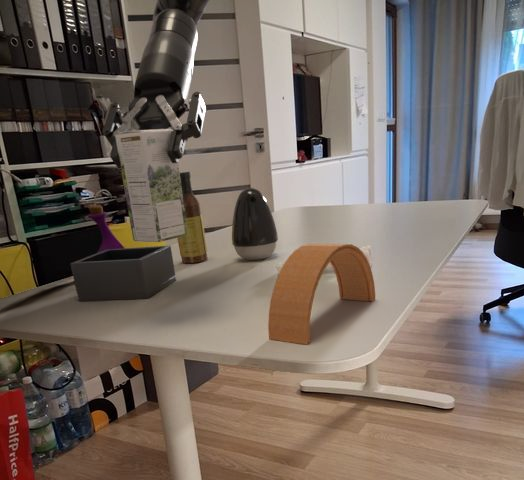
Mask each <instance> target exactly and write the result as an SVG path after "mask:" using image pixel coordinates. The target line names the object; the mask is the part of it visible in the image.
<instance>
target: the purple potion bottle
mask: <svg viewBox="0 0 524 480" xmlns="http://www.w3.org/2000/svg"><path fill="white" fill-rule="evenodd" d="M104 191H105V192H106V193H107V194H108V195H109V196H110V199H111V200H112V198H113V197H112V194H111V193H110V192H109V190H107V189H100V190H98V191H97V192H96V194H95V195H94V201H93V203H94V204H89V206H87V208H88V211H89V214H87V218H88V219H91V220H92V221H93V222H94V223H95V224H96V225H97V226H98V229H99V230H100V232H101V236H102V242H101V244H100V247H99V249H98V250H97V253H99V252H101V251H104V250H107V249H122V248H125V247H124V245H123V244H122V243H121V242H120V240H119V239H118V238H117V237H116V236H115V234H114V233H113V231H112V230H111V228H110V227H109V224H107V221H106V220H107V219H106V217H107V216H108V213H107V212H106V211H104V209H103V206H102V204H101V205H100V204H96V203H97V202H96V198H97V196H98V195H99V194H100V193H101V192H104Z"/></svg>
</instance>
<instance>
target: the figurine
mask: <svg viewBox="0 0 524 480" xmlns="http://www.w3.org/2000/svg"><path fill="white" fill-rule="evenodd" d="M350 245H354V246H355V243H352V244H350ZM358 248H359V249H360V250H361V251H362V252H363V253H364V255H365V256H366V258H367V260H368V262H369V265H370V268H371V267H373V255H372V254H373V253H372V249H371V248H372V247H371V245H365V246H361V247H358ZM286 261H287V260H285V261H283V262H278V263H277V264H276V266H275V268H276V271H277V272H278V273H280V271H281V269H282V267H283V265H284V263H285V262H286ZM371 269H372V268H371ZM327 270H334V268H333V266H332V265H331V263H330V262H329V264H328V265H327V267H326V268H325V270H324V271H327Z"/></svg>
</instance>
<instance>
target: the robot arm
mask: <svg viewBox="0 0 524 480" xmlns="http://www.w3.org/2000/svg"><path fill="white" fill-rule="evenodd" d="M210 1H211V0H156V3H155V6H154V10H153V14H152V15H153V16H152V26H151V28H150V32H149V37H148V40H147V43H146V45H145V46H144V48H143V49H144V50H143V52H142V56H141V60H140V63H139V66H138V71H137V75H136V77H135V81H134V85H133V86H134V87H133V99H132V101H131V102H130V103H129V104H128V106H120V105H119V103H118V102H113V103H111V104H110V106H109V110H108V114H107V116H106V119H105V123H104V126H103V129H102V134H103V136H104V138H105V139H106V141H108V143H109V145H110V146H111V150H110V154H109V157H110V159H111V160H112V162H113V164H114V165H115V166H116V168H118V169H121V166H120V161H119V155H118V149H117V143H116V137H115V135H116V134H118V133H121V132H126V131H138V130H154V129H172V130H174V131H171V136H170V140H169V145H168V150H167V154H168V156H169V158H170V160H171V162H172V163H178V164H179V160H180V159H182V158H183V157H184V153H185V147H186V143H187V142H188V141H189V139H190V138H194V139H199V138H200V137H201V136H202V134H203V133H202V132H203V127H204V121H205V116H206V112H207V111H206V110H207V106H206V104H205V102H204V99H203V97H202V95H201V92H200V91H195V92H193V93H192V95H191V97H189V95H190V94H189V93H190V89H191V85H192V80H193V79H192V78H193V76H194V67H195V64H194V63H195V56H196V51H197V46H198V42H199V41H198V40H199V37H198V36H199V35H198V33H199V32H198V29H197V28H198V25H199V22H200V21H201V19H202V16H203V14H204V13H205V11H206V8H207V7H208V5H209V3H210ZM187 110H188V113H187V118H186V122H185V123H183V124H182V122H181V121H180V118H181V117H182V116H183V115H184V114H185V113H186V112H187ZM134 123H136V124H137V126H138V128H136V126H135V124H134Z"/></svg>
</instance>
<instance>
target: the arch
mask: <svg viewBox="0 0 524 480" xmlns="http://www.w3.org/2000/svg"><path fill="white" fill-rule="evenodd" d="M359 248H360V247H358V246H356V245H355V244H354V245H351V244H347V243H346V244H345V243H344V244H342V243H336V244H335V243H306V244H303V245H301V246H299V247H298V248H296V249H295V250H294V251H293V252H292V253H291V254H290V255H289V256H288V257H287V259H286V260H285V261H286V262H285V261H284V262H285V263H284V265H283V267H282V269H281V271H280V272H278V275H277V278H276V281H275V284H274V287H273V289H272V294H271V297H270V303H269V310H268V322H267V323H268V324H267V328H268V329H267V330H268V340H273V341H280V342H286V343H293V344H298V345H299V344H300V345H308V344H310V342H311V338H310V337H311V335H310V333H311V332H310V327H311V314H312V308H313V303H314V299H315V295H316V292H317V288H318V285H319V282H320V280H321V278H322V275H323V273H324V272H325V271H326V270H325V268H326V267H327V265H328V264H329V262H330V263H331V265H332V266H333V268H334V269H333V271H334V274H335V277H336V281H337V285H338V293H339V299H340V300H341V299H343V300H350V301H351V300H352V301H361V302H374V301H376V286H375V280H374V275H373V271H372V268H370V265H369V262H368V260H367V258H366V256H365V255H364V253H363V252H362V251H361V250H360V249H359Z"/></svg>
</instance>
